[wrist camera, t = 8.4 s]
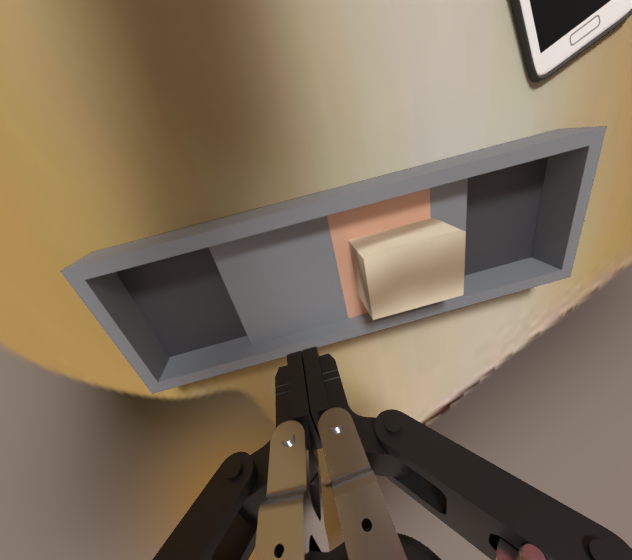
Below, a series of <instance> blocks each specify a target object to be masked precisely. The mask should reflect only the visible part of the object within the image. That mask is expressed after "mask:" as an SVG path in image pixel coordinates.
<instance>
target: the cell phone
mask: <svg viewBox="0 0 632 560" xmlns="http://www.w3.org/2000/svg"><path fill="white" fill-rule="evenodd" d="M510 3H511V7H512V11H513V16H514V20H515V24H516V28H517V32H518V36H519V41H520V45H521V49H522V53H523V57H524V61H525V66H526V70H527V73H528V75H529V78H530V80H531V81H533V82H537V81H540V80H543V79H545V78H547V77H549V76H550V75H552V74H553V73H555V72H556V71H557V70H559V69H560V68H561V67H563V66H564V65H565V64H567V63H568V62H570V61H571V60H572V59H574V58H575V57H576V56H578V55H579V54H580V53H582V52H583V51H584V50H586V49H587V48H588V47H590V46H591V45H593V44H594V43H595V42H597V41H598V40H599V39H601V38H602V37H603V36H605V35H606V34H607V33H609V32H610V31H611V30H613V29H614V28H616V27H617V26H618V25H620V24H621V23H622V22H623V21H625V20H626V19H627V18H628V17H629V16H631V14H632V0H510Z"/></svg>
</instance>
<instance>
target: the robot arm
mask: <svg viewBox="0 0 632 560" xmlns="http://www.w3.org/2000/svg"><path fill="white" fill-rule="evenodd" d="M287 363H288V365H287V366H283V367H280V368H279V369H278V372H277V374H276V377H275V386H276V388H275V389H276V429H275V430H274V432H273V434H272V436H271V440H270V441H269V442H268V443H267V444H266V445H265V446H264V447H262V448H261V449H259V450H258V451H256V452H254V453H253V454H251V455H249V454H248V453H245V452H237V453H234V454H233V455H231V456H229V457H228V458H227V459H226V460H225V461H224V462H223V463H222V465H221V466H220V467H219V469H218V470H217V471H216V473H215V474H214V476H213V477H212V478H211V480H210V481H209V482H208V484H207V485H206V487H205V488H204V489H203V491H202V492H201V494H200V495H199V496H198V498H197V499H196V501H195V502H194V503H193V505H192V506H191V507H190V509H189V510H188V511H187V513H186V514H185V516H184V517H183V519H182V520H181V521H180V522H179V524H178V525H177V527H176V528H175V529H174V531H173V532H172V534H171V535H170V536H169V538H168V539H167V540H166V542H165V543H164V544H163V546H162V547H161V549H160V550H159V551H158V553H157V554H156V556H155V557H154V558H153V560H248V559H249V557H250V555H251V553H252V552H253V550H254V548H255V555H254V560H441V559H440V558H439V557H438V556H437V555H436V554H435V553H434V552H432V551H431V550H430V549H429V548H428V547H426V546H425V545H424V544H422V543H421V542H419V541H417V540H415V539H413V538H411V537H409V536H406V535H403V534H399V533H397V532H396V529H395V526H394V524H393V521H392V518H391V516H390V513H389V510H388V508H387V505H386V503H385V500H384V497H383V495H382V492H381V490H380V487H379V484H378V482H377V479H376V477H375V475H380V476H386V477H387V478H388V479H389V480H390V481H392V482H393V483H394V484H395V485H397V486H398V487H399V488H400V489H402V490H403V491H404V492H405V493H407V494H408V495H409V496H411V497H412V498H413V499H414V500H416V501H417V502H418V503H420V504H421V505H422V506H424V507H425V508H426V509H427V510H429V511H430V512H431V513H432V514H434V515H435V516H436V517H438V518H439V519H440V520H441V521H443V522H444V523H445V524H447V525H448V526H449V527H450V528H452V529H453V530H454V531H456V532H457V533H458V534H459V535H461V536H462V537H463V538H465V539H466V540H467V541H468V542H470V543H471V544H472V545H474V546H475V547H476V548H477V549H479V550H480V551H481V552H483V553H484V554H485V555H486V556H488V557H489V558H490V559H492V560H632V549H631V548H630V547H629V546H628V545H627V544H626V543H625V542H624V541H623V540H622V539H621V538H620V537H618V536H617V535H616V534H614V533H613V532H611V531H610V530H608V529H606V528H605V527H603V526H601V525H599V524H598V523H596V522H594V521H592V520H591V519H589V518H587V517H585V516H584V515H582V514H580V513H578V512H576V511H575V510H573V509H571V508H569V507H568V506H566V505H564V504H562V503H560V502H559V501H557V500H555V499H554V498H552V497H550V496H548V495H547V494H545V493H543V492H541V491H539V490H538V489H536V488H534V487H532V486H531V485H529V484H527V483H526V482H524V481H522V480H520V479H518V478H516V477H515V476H513V475H511V474H510V473H508V472H506V471H504V470H503V469H501V468H499V467H497V466H496V465H494V464H492V463H490V462H489V461H487V460H485V459H483V458H481V457H480V456H478V455H476V454H475V453H473V452H471V451H469V450H467V449H466V448H464V447H462V446H460V445H459V444H456V443H455V442H453V441H452V440H450V439H448V438H446V437H444V436H443V435H441V434H439V433H437V432H436V431H434V430H432V429H431V428H429V427H427V426H425V425H424V424H422V423H420V422H418V421H417V420H415V419H413V418H411V417H409V416H408V415H406V414H404V413H402V412H400V411H398V410H386V411H383V412H381V413H380V414H379V415H378V416H377V418H372V417H362V416H359V415H357V414H355V413H354V412H353V411H352V410H351V409H350V408H349V406H348V403H347V400H346V396H345V393H344V389H343V386H342V382H341V379H340V375H339V372H338V368H337V365H336V362H335V359H334V358H333V357H332V356H331V355H330V354H326V355H322V356H319V354H318V350H317V347H316V346H315V347H311V348H308V349H304V350H302V351H297V352H294V353H290V354H287ZM321 441H322V442H321ZM322 446H323V450H324V454H325V458H326V462H327V466H328V470H329V474H330V478H331V487H332V492H333V496H334V500H335V505H336V509H337V513H338V517H339V521H340V525H341V529H342V534H343V538H344V543H342V544H341V545H339V546H338V547H336V548H335V549H334V550H332V551H330V552H329V546H328V540H327V535H326V530H325V525H324V515H323V502H322V488H321V476H320V467H319V461H318V454H317V449H319V448H322Z"/></svg>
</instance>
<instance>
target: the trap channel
mask: <svg viewBox="0 0 632 560" xmlns="http://www.w3.org/2000/svg"><path fill="white" fill-rule="evenodd" d="M606 127H607V126H599V127H582V128H565V129H557V130H553V131H549V132H545V133H542V134H538V135H534V136H530V137H526V138H523V139H519V140H515V141H511V142H507V143H504V144H500V145H496V146H492V147H488V148H485V149H481V150H477V151H473V152H470V153H466V154H462V155H458V156H454V157H451V158H447V159H443V160H439V161H435V162H432V163H428V164H424V165H420V166H416V167H413V168H409V169H405V170H401V171H398V172H394V173H390V174H386V175H382V176H379V177H375V178H371V179H367V180H363V181H360V182H356V183H352V184H348V185H345V186H341V187H337V188H333V189H329V190H326V191H322V192H318V193H314V194H310V195H307V196H303V197H299V198H295V199H291V200H288V201H284V202H280V203H276V204H273V205H269V206H265V207H261V208H257V209H254V210H250V211H246V212H242V213H238V214H235V215H231V216H227V217H223V218H220V219H216V220H212V221H208V222H204V223H201V224H197V225H193V226H189V227H185V228H182V229H178V230H174V231H170V232H166V233H163V234H159V235H155V236H151V237H148V238H144V239H140V240H136V241H132V242H129V243H125V244H121V245H117V246H113V247H110V248H106V249H102V250H98V251H95V252H91V253H90V254H88V255H86V256H85V257H83V258H81V259H79V260H78V261H76V262H74V263H73V264H71V265H69V266H68V267H66V268H64V269H63V270H61V273H62V274H63V275H64V277H65V278H66V279H67V281H68V282H69V283H70V285H71V286H72V287H73V289H74V290H75V291H76V293H77V294H78V295H79V297H80V298H81V299H82V301H83V302H84V303H85V305H86V306H87V307H88V309H89V310H90V311H91V313H92V314H93V315H94V317H95V318H96V319H97V321H98V322H99V323H100V325H101V326H102V327H103V329H104V330H105V331H106V333H107V334H108V335H109V337H110V338H111V339H112V341H113V342H114V343H115V345H116V346H117V347H118V349H119V350H120V351H121V353H122V354H123V355H124V357H125V358H126V359H127V361H128V362H129V363H130V365H131V366H132V367H133V369H134V370H135V371H136V373H137V374H138V375H139V377H140V378H141V379H142V381H143V382H144V383H145V385H146V386H147V387H148V389H149V390H150V391H151V393H152V394H153V393H157V392H160V391H164V390H167V389H171V388H175V387H178V386H182V385H185V384H189V383H192V382H196V381H200V380H203V379H207V378H210V377H214V376H218V375H221V374H225V373H228V372H232V371H235V370H239V369H243V368H246V367H250V366H253V365H257V364H260V363H264V362H268V361H271V360H275V359H278V358H282V357H286V356H287V354H290V353H294V352H297V351H302V350H304V349H308V348H311V347H315V346H316V347H317V348H318V347H321V346H325V345H328V344H332V343H336V342H339V341H343V340H346V339H350V338H354V337H357V336H361V335H364V334H368V333H371V332H375V331H379V330H382V329H386V328H389V327H393V326H397V325H400V324H404V323H407V322H411V321H414V320H418V319H422V318H425V317H429V316H432V315H436V314H439V313H443V312H447V311H450V310H454V309H457V308H461V307H465V306H468V305H472V304H475V303H479V302H482V301H486V300H490V299H493V298H497V297H500V296H504V295H507V294H511V293H515V292H518V291H522V290H525V289H529V288H533V287H536V286H540V285H543V284H547V283H550V282H554V281H558V280H561V279H565V278H568V277H570V276H571V272H572V268H573V264H574V259H575V255H576V251H577V247H578V243H579V239H580V235H581V231H582V226H583V222H584V218H585V214H586V210H587V206H588V202H589V197H590V193H591V189H592V185H593V181H594V177H595V173H596V169H597V164H598V160H599V156H600V152H601V148H602V144H603V140H604V135H605V131H606ZM430 218H436V219H438V220H440V221H443V222H445V223H447V224H449V225H452V226H454V227H456V228H458V229H461V230H463V231H465V232H466V238H465V265H464V292H463V295H462V296H458V297H455V298H451V299H448V300H444V301H440V302H437V303H433V304H429V305H426V306H422V307H419V308H415V309H411V310H408V311H404V312H400V313H397V314H393V315H389V316H386V317H382V318H379V319H375V320H373V319H372V317H371V316H370V314H369V312H368V311H367V309H366V307H365V305H364V304H363V302H362V300H361V298H360V297H359V295H358V292H357V287H356V281H355V275H354V270H353V264H352V258H351V253H350V247H349V241H348V240H351V239H355V238H359V237H362V236H366V235H370V234H374V233H377V232H381V231H385V230H389V229H392V228H396V227H400V226H404V225H407V224H411V223H415V222H419V221H422V220H426V219H430Z"/></svg>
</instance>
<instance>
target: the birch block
mask: <svg viewBox="0 0 632 560" xmlns="http://www.w3.org/2000/svg"><path fill="white" fill-rule="evenodd" d="M465 238H466V232H465V231H463V230H461V229H458V228H456V227H454V226H452V225H449V224H447V223H445V222H443V221H440V220H438V219H436V218H430V219H426V220H422V221H419V222H415V223H411V224H407V225H404V226H400V227H396V228H392V229H389V230H385V231H381V232H377V233H374V234H370V235H366V236H362V237H359V238H355V239H351V240H348V241H349V247H350V253H351V258H352V264H353V270H354V275H355V281H356V287H357V292H358V295H359V297H360V298H361V300H362V302H363V304H364V305H365V307H366V309H367V311H368V312H369V314H370V316H371V317H372V319H373V320H375V319H379V318H382V317H386V316H389V315H393V314H397V313H400V312H404V311H408V310H411V309H415V308H419V307H422V306H426V305H429V304H433V303H437V302H440V301H444V300H448V299H451V298H455V297H458V296H462V295H463V292H464V265H465Z"/></svg>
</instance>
